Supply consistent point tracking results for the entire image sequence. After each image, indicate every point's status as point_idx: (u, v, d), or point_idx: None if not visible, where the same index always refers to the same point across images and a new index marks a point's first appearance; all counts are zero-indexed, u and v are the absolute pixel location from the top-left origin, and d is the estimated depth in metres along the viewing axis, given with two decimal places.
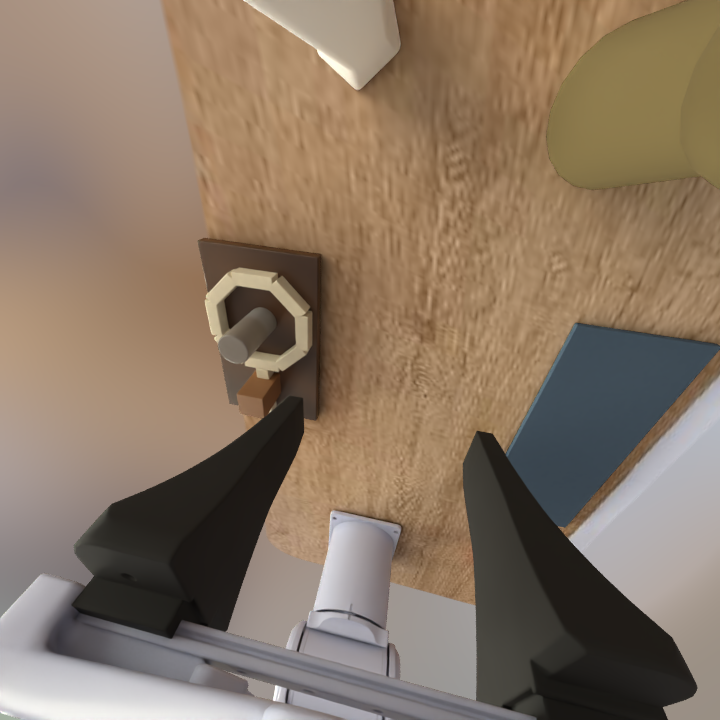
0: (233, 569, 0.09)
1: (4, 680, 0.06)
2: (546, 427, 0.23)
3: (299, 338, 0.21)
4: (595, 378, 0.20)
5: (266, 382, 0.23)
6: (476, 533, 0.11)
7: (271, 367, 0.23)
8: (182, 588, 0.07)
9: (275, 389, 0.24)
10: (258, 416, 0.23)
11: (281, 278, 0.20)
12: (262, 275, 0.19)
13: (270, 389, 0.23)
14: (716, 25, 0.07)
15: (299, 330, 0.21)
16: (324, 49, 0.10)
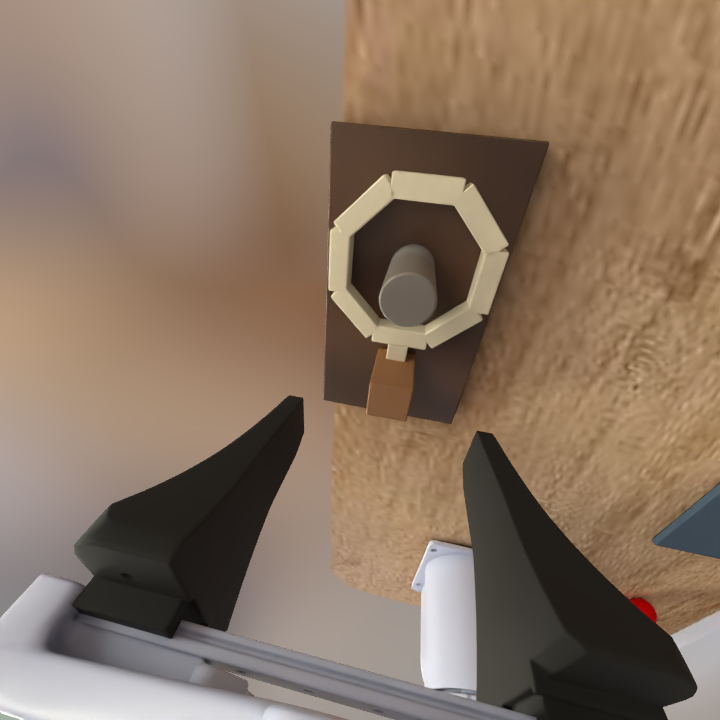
0: (233, 569, 0.09)
1: (4, 680, 0.06)
2: None
3: (481, 292, 0.13)
4: None
5: (405, 366, 0.15)
6: (476, 533, 0.11)
7: (415, 342, 0.15)
8: (182, 587, 0.07)
9: None
10: (396, 418, 0.15)
11: None
12: (447, 176, 0.11)
13: (413, 376, 0.15)
14: None
15: (485, 278, 0.13)
16: None
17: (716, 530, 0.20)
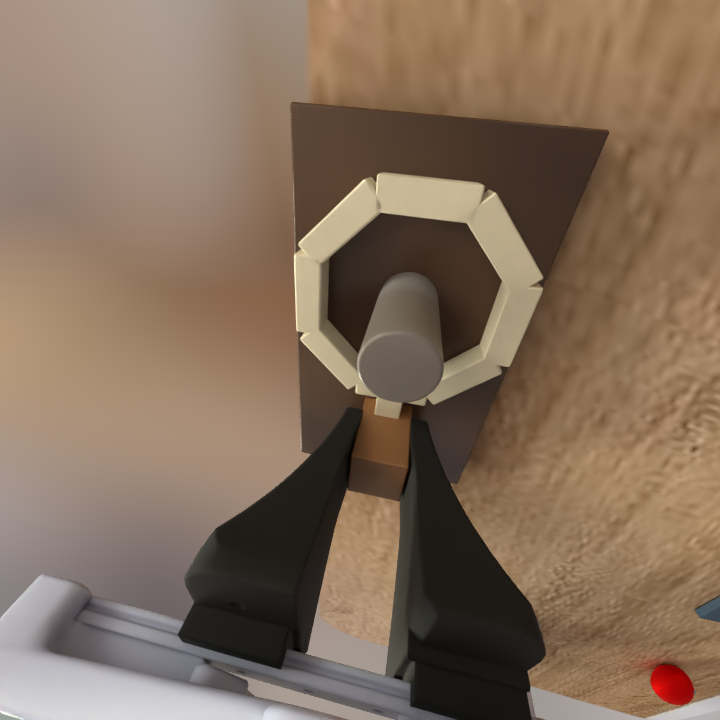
0: (316, 590, 0.09)
1: (4, 680, 0.06)
2: None
3: (501, 339, 0.10)
4: None
5: (398, 426, 0.12)
6: (402, 517, 0.11)
7: None
8: (296, 618, 0.06)
9: None
10: (387, 496, 0.11)
11: None
12: (457, 181, 0.08)
13: (409, 441, 0.12)
14: None
15: (508, 321, 0.09)
16: None
17: None
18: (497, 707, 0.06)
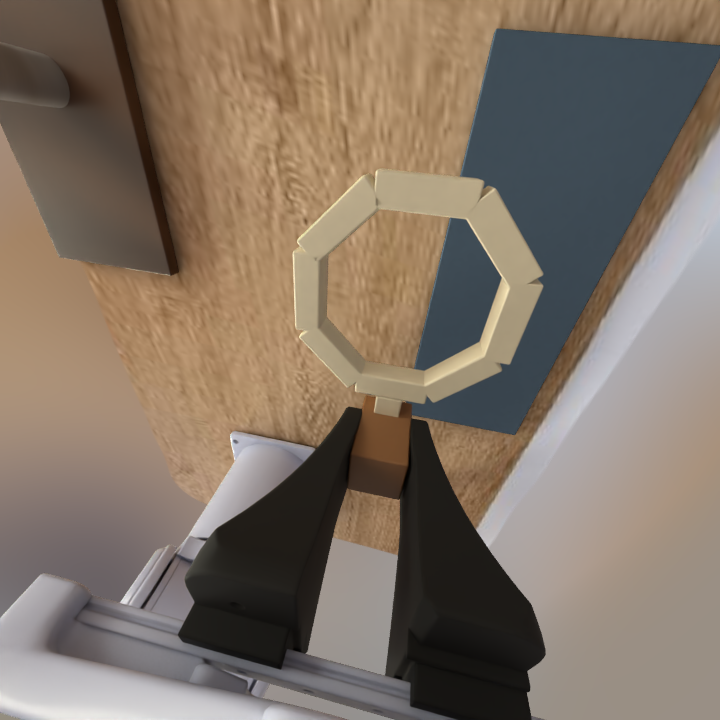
0: (316, 590, 0.09)
1: (4, 680, 0.06)
2: (472, 257, 0.16)
3: (501, 336, 0.10)
4: (531, 147, 0.13)
5: (398, 424, 0.12)
6: (402, 517, 0.11)
7: (411, 395, 0.11)
8: (297, 618, 0.06)
9: None
10: (386, 495, 0.11)
11: None
12: (456, 177, 0.08)
13: (409, 439, 0.12)
14: None
15: (508, 319, 0.09)
16: None
17: None
18: (497, 707, 0.06)
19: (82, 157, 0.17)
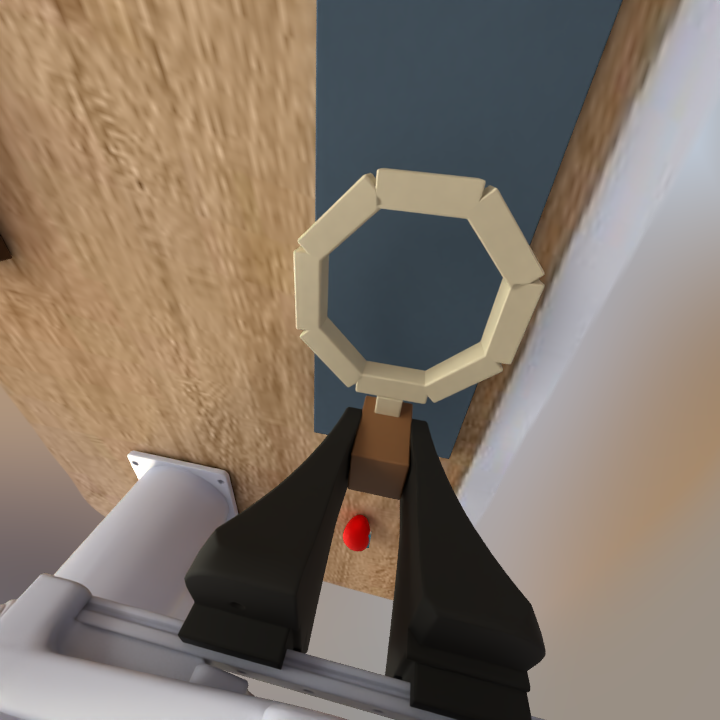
0: (316, 590, 0.09)
1: (4, 680, 0.06)
2: None
3: (502, 336, 0.10)
4: (404, 56, 0.09)
5: (399, 424, 0.12)
6: (402, 517, 0.11)
7: (412, 395, 0.11)
8: (297, 618, 0.06)
9: None
10: (387, 495, 0.11)
11: None
12: (457, 176, 0.08)
13: (410, 439, 0.12)
14: None
15: (509, 318, 0.09)
16: None
17: (350, 402, 0.17)
18: (497, 707, 0.06)
19: None
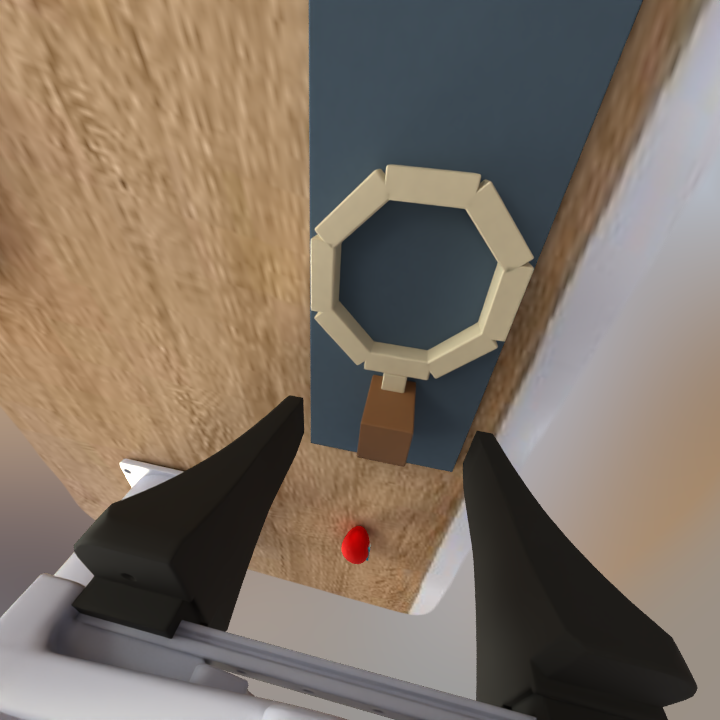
0: (233, 569, 0.09)
1: (4, 680, 0.06)
2: None
3: (497, 315, 0.11)
4: (406, 41, 0.08)
5: (403, 399, 0.13)
6: (476, 533, 0.11)
7: (416, 371, 0.13)
8: (182, 588, 0.07)
9: None
10: (393, 462, 0.12)
11: None
12: (456, 171, 0.09)
13: (414, 412, 0.13)
14: None
15: (503, 298, 0.10)
16: None
17: (348, 413, 0.16)
18: None
19: None
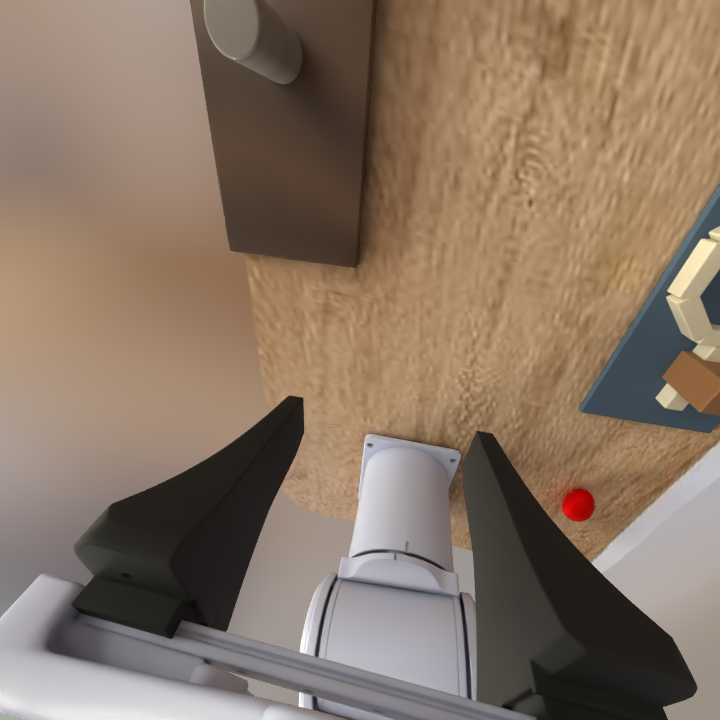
0: (233, 569, 0.09)
1: (4, 680, 0.06)
2: None
3: None
4: None
5: None
6: (476, 533, 0.11)
7: None
8: (181, 588, 0.06)
9: None
10: None
11: None
12: None
13: None
14: None
15: None
16: None
17: (637, 384, 0.19)
18: None
19: (293, 139, 0.15)
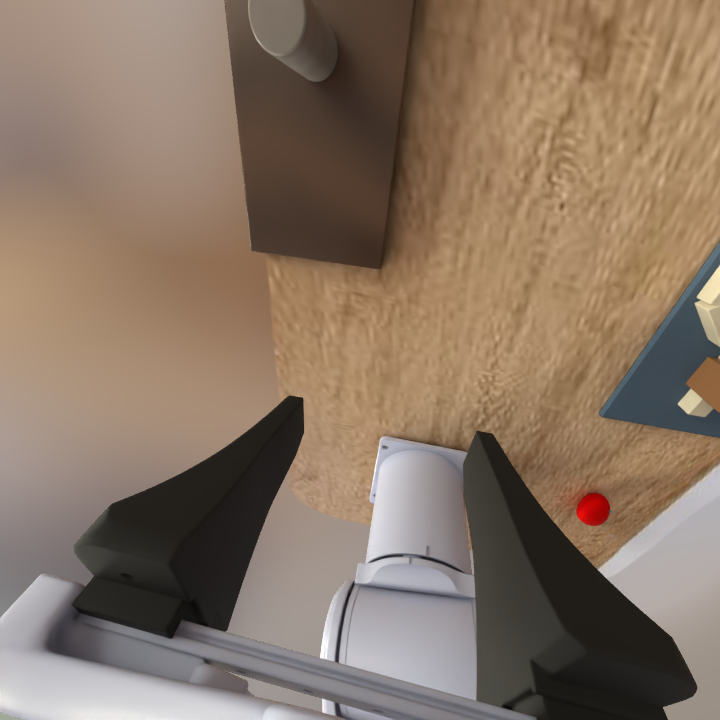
0: (233, 569, 0.09)
1: (4, 680, 0.06)
2: None
3: None
4: None
5: None
6: (476, 533, 0.11)
7: None
8: (182, 588, 0.07)
9: None
10: None
11: None
12: None
13: None
14: None
15: None
16: None
17: (659, 390, 0.19)
18: None
19: (323, 138, 0.15)
